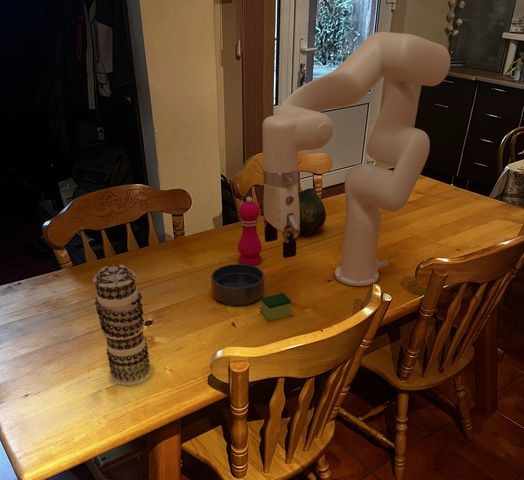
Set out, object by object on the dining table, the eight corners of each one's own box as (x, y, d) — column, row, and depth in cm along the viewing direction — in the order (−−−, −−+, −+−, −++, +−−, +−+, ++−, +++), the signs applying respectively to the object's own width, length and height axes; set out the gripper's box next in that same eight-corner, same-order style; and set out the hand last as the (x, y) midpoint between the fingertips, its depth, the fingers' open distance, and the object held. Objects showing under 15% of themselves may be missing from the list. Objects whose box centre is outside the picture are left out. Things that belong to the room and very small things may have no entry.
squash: (272, 222, 173) (304, 189, 166) (276, 208, 186) (306, 176, 179) (303, 251, 177) (336, 220, 170) (305, 235, 190) (336, 205, 183)
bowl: (251, 277, 153) (251, 260, 150) (272, 300, 143) (273, 281, 140) (204, 287, 149) (203, 269, 145) (223, 311, 138) (222, 292, 135)
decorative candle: (138, 355, 122) (121, 255, 108) (161, 373, 116) (146, 270, 102) (102, 372, 117) (79, 269, 102) (124, 392, 111) (104, 286, 97)
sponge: (283, 307, 140) (283, 292, 137) (290, 315, 136) (291, 300, 134) (261, 312, 137) (261, 297, 135) (268, 321, 134) (269, 305, 132)
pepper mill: (259, 267, 159) (258, 202, 147) (235, 265, 160) (233, 200, 148) (263, 257, 164) (264, 193, 153) (241, 255, 166) (239, 191, 154)
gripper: (314, 186, 112) (311, 260, 122) (278, 163, 124) (278, 232, 135) (282, 191, 109) (282, 266, 119) (248, 168, 122) (251, 238, 132)
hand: (280, 248), depth 127 cm, fingers open, 9 cm apart
